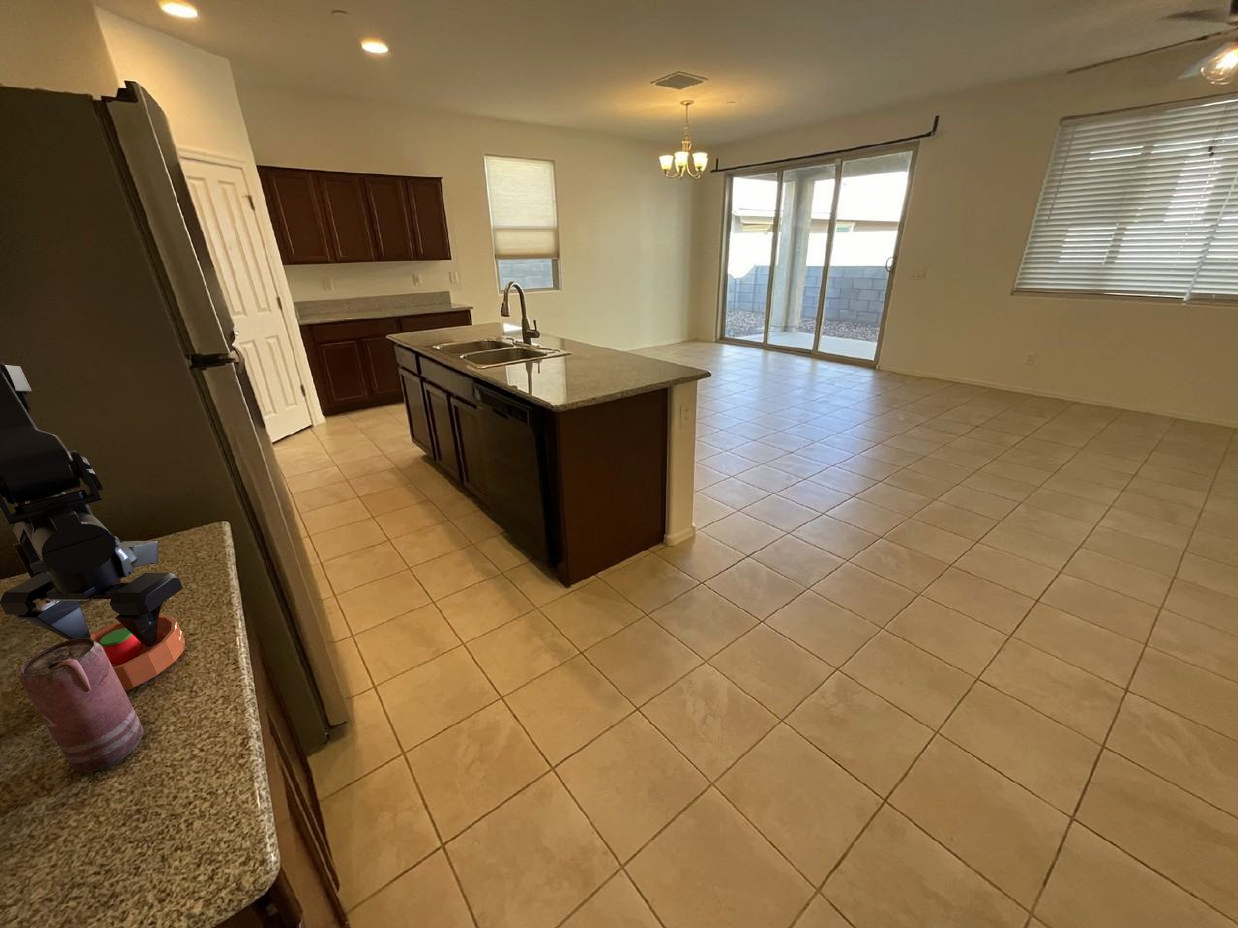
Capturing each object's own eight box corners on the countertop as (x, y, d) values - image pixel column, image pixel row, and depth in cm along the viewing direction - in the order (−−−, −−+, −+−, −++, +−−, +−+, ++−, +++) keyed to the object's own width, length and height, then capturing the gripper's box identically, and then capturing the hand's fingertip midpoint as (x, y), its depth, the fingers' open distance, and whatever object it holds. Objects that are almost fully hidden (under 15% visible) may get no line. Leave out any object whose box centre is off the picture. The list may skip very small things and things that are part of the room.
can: (103, 779, 55) (46, 681, 49) (58, 769, 56) (-2, 672, 51) (160, 732, 60) (115, 638, 55) (118, 723, 61) (70, 631, 56)
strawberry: (105, 667, 69) (91, 639, 68) (142, 649, 72) (129, 622, 71) (115, 678, 67) (101, 650, 66) (153, 659, 70) (140, 632, 69)
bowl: (55, 678, 68) (41, 654, 67) (166, 626, 78) (156, 604, 76) (85, 717, 62) (70, 691, 61) (201, 656, 72) (191, 632, 70)
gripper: (196, 514, 70) (230, 607, 76) (66, 515, 70) (110, 606, 76) (119, 558, 60) (166, 661, 65) (-31, 558, 60) (28, 660, 66)
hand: (119, 644), depth 68 cm, fingers open, 9 cm apart
